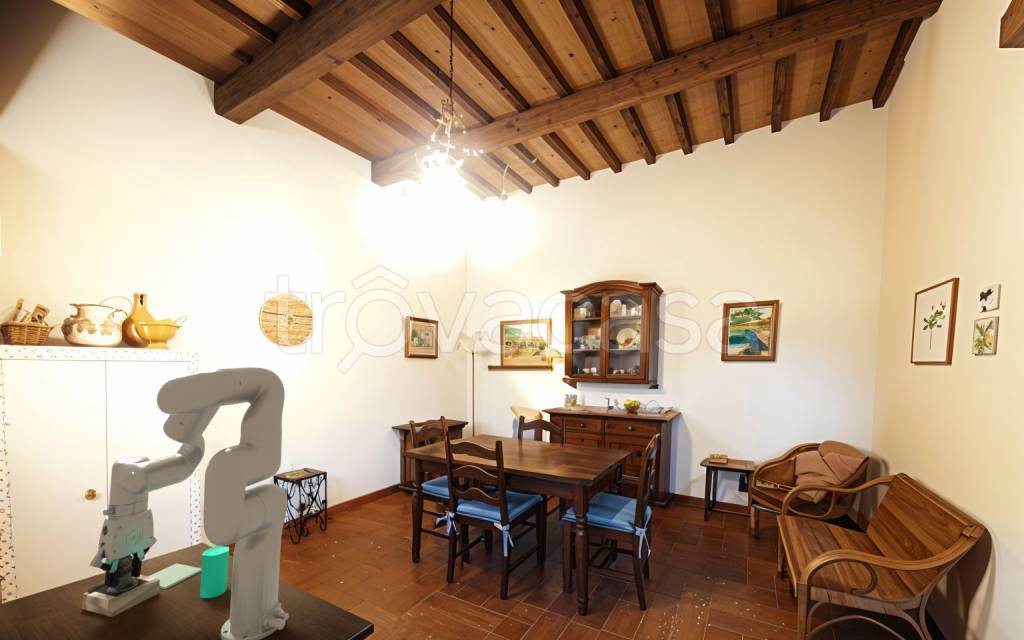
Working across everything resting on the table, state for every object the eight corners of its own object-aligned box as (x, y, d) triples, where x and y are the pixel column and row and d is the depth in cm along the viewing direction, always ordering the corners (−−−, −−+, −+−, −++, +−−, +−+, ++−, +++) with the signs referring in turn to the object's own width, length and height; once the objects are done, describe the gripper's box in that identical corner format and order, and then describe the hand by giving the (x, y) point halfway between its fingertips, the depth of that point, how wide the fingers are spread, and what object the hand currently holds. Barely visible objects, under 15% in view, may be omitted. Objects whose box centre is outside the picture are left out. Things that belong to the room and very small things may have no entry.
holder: (158, 593, 112) (160, 575, 112) (111, 616, 102) (113, 597, 102) (130, 586, 115) (131, 568, 115) (81, 608, 105) (83, 589, 105)
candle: (213, 599, 109) (216, 551, 110) (193, 596, 110) (196, 548, 111) (232, 587, 115) (235, 541, 116) (213, 584, 116) (216, 538, 117)
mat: (202, 570, 123) (202, 568, 123) (165, 589, 114) (165, 587, 114) (176, 565, 126) (176, 563, 126) (138, 583, 116) (138, 580, 116)
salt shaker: (114, 596, 110) (117, 548, 111) (141, 592, 112) (145, 545, 113) (100, 609, 105) (104, 558, 105) (129, 605, 106) (133, 555, 107)
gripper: (99, 521, 101) (92, 603, 100) (173, 498, 117) (168, 567, 116) (77, 517, 103) (71, 597, 102) (153, 495, 119) (148, 563, 118)
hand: (123, 580), depth 109 cm, fingers open, 4 cm apart
